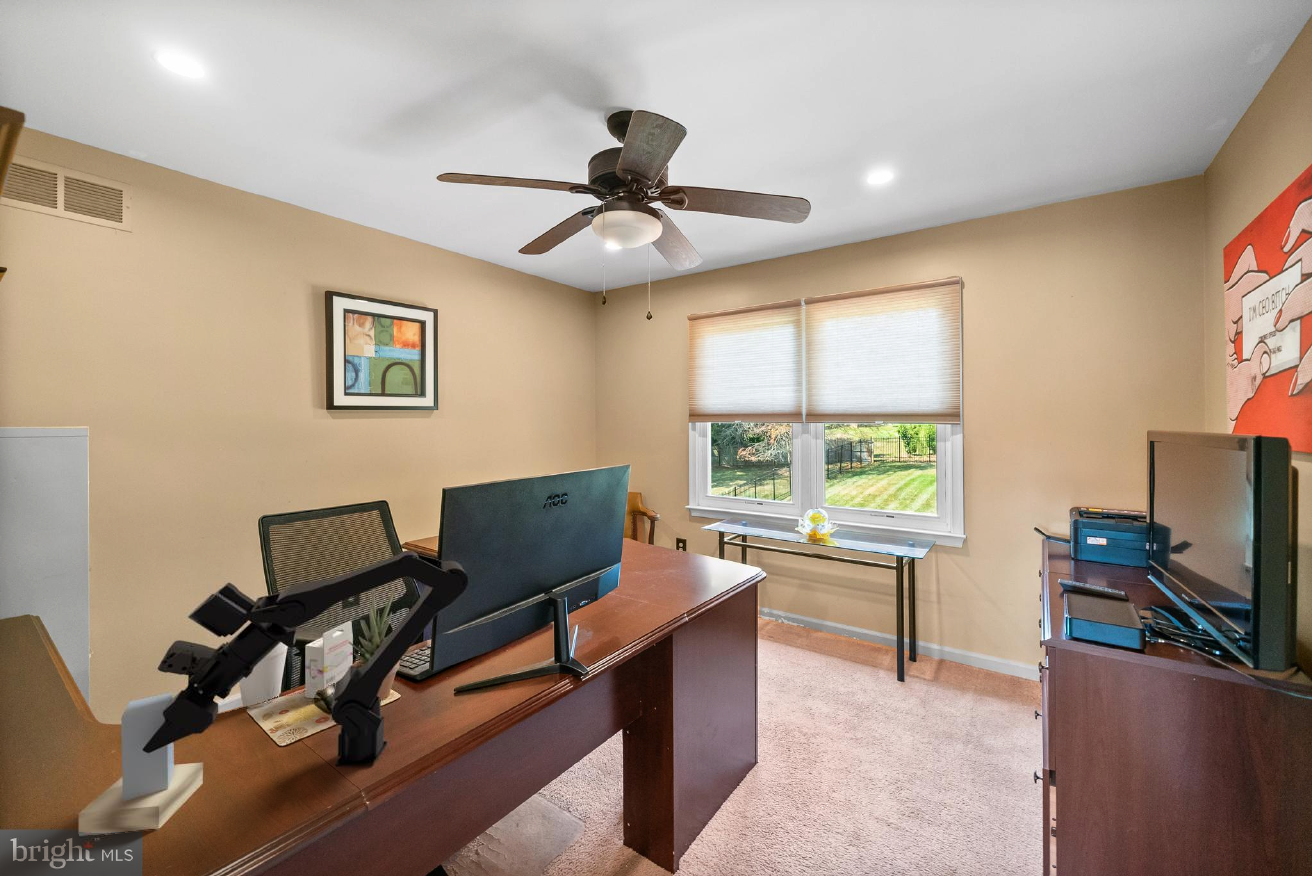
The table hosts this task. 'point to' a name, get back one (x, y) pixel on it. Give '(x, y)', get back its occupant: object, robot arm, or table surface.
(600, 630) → the table surface
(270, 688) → the foam cup
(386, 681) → the potted plant
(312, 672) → the ink cartridge box
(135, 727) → the slate blue pillar
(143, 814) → the maple block
